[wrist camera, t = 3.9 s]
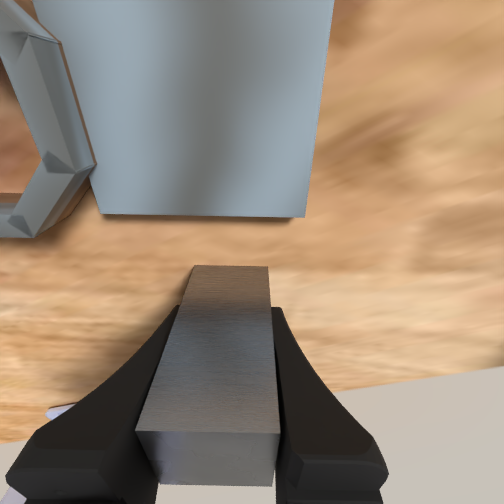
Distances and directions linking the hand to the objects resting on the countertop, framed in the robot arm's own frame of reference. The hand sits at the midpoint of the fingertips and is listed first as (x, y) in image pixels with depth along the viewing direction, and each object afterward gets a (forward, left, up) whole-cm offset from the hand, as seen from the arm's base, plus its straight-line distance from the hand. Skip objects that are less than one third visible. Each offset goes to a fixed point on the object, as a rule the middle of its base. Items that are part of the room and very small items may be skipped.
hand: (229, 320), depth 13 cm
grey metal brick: (0, 0, -2) cm, 2 cm away
